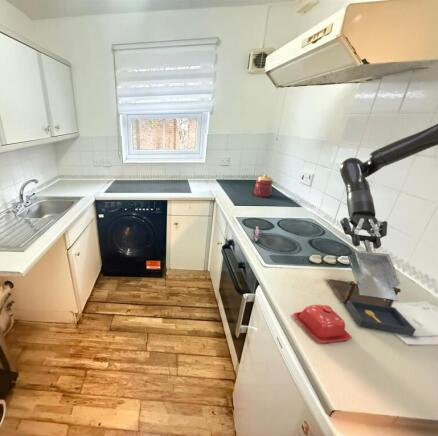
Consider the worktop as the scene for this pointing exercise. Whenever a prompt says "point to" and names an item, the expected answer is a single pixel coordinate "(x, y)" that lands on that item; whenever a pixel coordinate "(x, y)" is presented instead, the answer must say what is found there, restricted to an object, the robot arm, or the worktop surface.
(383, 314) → the tray
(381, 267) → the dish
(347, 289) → the stand
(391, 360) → the worktop surface
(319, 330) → the butter dish
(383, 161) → the robot arm
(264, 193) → the kitchen canister
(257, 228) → the decorative key
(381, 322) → the key
